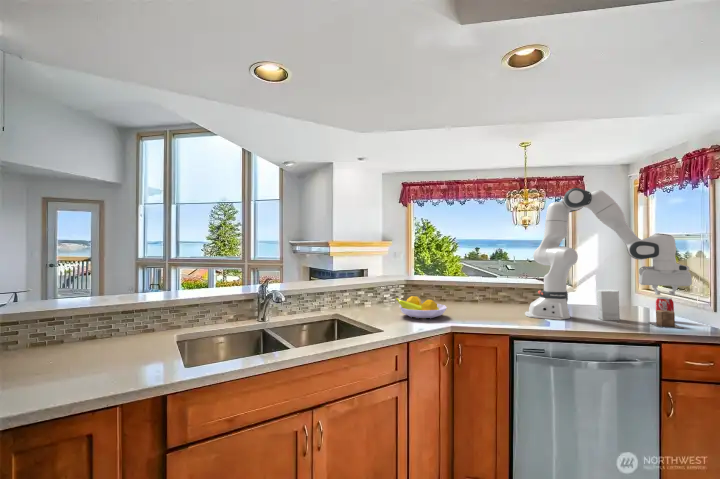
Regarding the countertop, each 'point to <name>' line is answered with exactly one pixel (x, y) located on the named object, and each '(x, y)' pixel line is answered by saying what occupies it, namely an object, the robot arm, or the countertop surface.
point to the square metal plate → (665, 326)
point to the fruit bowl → (421, 308)
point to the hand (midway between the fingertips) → (664, 294)
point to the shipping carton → (665, 318)
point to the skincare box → (608, 305)
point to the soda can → (664, 304)
